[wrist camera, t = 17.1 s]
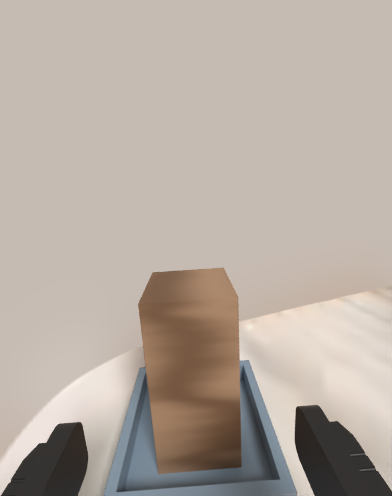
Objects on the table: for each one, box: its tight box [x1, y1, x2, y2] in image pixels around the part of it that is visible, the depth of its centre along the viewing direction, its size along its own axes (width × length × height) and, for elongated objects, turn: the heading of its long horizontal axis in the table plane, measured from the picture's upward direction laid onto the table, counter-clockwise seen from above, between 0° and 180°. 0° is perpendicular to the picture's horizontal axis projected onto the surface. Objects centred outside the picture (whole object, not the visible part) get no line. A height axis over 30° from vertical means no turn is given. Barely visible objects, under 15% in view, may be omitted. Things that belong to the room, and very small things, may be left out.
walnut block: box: [138, 268, 242, 474], centre depth 16 cm, size 5×5×11 cm
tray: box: [103, 360, 297, 496], centre depth 17 cm, size 10×10×2 cm
